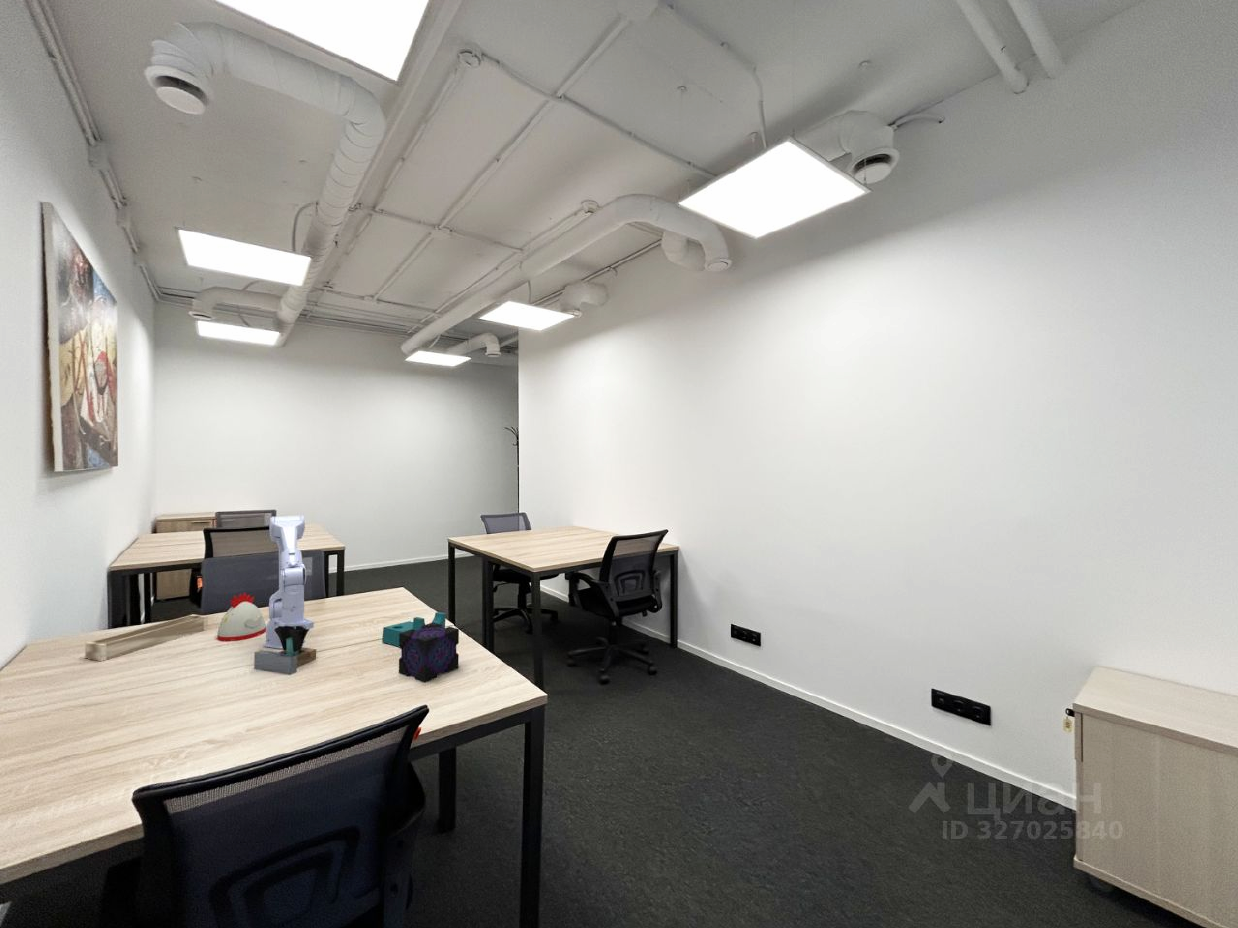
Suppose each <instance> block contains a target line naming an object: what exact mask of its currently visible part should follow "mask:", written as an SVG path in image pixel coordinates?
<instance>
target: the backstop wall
mask: <svg viewBox="0 0 1238 928" xmlns="http://www.w3.org/2000/svg"><path fill="white" fill-rule="evenodd" d="M279 652H280V651H271V650H263V649H260V650H257V651H254V655H253V656H254V658H253V659H254V660H253V661H254V663H253V669H254V670H259V671H266V672H271V673H277V674H285V675H293V674H295V673H297V671H298V667H297V655H293V654H286V653H279Z"/></svg>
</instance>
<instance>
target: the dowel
mask: <svg viewBox="0 0 1238 928" xmlns="http://www.w3.org/2000/svg"><path fill="white" fill-rule="evenodd" d="M287 654H293V655H297V654H298V651H296V652H294V650H293V641H292V637H289V638H287Z"/></svg>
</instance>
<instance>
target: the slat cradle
mask: <svg viewBox="0 0 1238 928" xmlns="http://www.w3.org/2000/svg"><path fill="white" fill-rule="evenodd" d="M208 616H209V615H201V614H189V615H186V616H185V615H184V616H182V617H178V618H174V619H170V620H166V621H162V622H159V623H156V624H152V625H147V626H145V627H140V628H137V629H133V630H128V631H125V632H121V633H117V634H113V635H110V636H106V637H102V638H99V639H95V640H92V641H88V642H87V641H86V642H85V644H84V645H85V648H84V649H85V655H84V656H85V658H88V659H87V660H89V659H94V660H93V661H95V660H98V661H97V662H104V661H103V660H105V661H107V659H108V660H110V658H111V659H115V658H117V656H118V657H121V656H125V655H129V654H131V653H134V651H135V652H137V651H138V652H139V651H140V650H141V651H142V650H144V649H147V648H151V647H154V646H157V645H161V644H164V643H168V642H170V640H171V641H173V639H174V640H177V639H176V638H178V639H180V637H181V638H184V637H188V636H192V635H194V634H197V633H200V632H201V633H202V632H204V631H207V630H208ZM183 636H184V637H183ZM167 641H168V642H167ZM124 654H125V655H124ZM120 655H121V656H120ZM114 657H115V658H114Z"/></svg>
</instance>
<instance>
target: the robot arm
mask: <svg viewBox="0 0 1238 928" xmlns="http://www.w3.org/2000/svg"><path fill="white" fill-rule="evenodd" d="M305 526H306V523H305V516H304V515H303V514H301V515H287V516H285V515H282V516H271V517H269V526H268V527H269V538H270V541H271V542H274V543H276V544H277V548H278V590H277V591H275V593H273V594H272V595H270V597H269V600H268V601H269V602H268V619H269V621H268V622H267V623H266V632H265V644H263V645H262V646H263V647H265V648H273V649H280V650H282V651H283V650H286V649H287V638H289V637H292V641H293V650H294V652H296V651H299V650H301V648H302V647H303V644H304V642H306V639H305V638H306V636H307V634H308V632H309V631H310V630H311V629H314V628H315V627H314V626H315V625H314V623H315V622H314V620H309V619H307V618H305V615H304V613H305V599H304V598H305V593H304V592H305V585H306V582H307V569H306V567H305V564H304V563H303V555H302V553H303V552H302V551H301V550H300V549H298V541H299V540H301V539H302V537H303V535H304V532H305V528H306V527H305Z"/></svg>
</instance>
